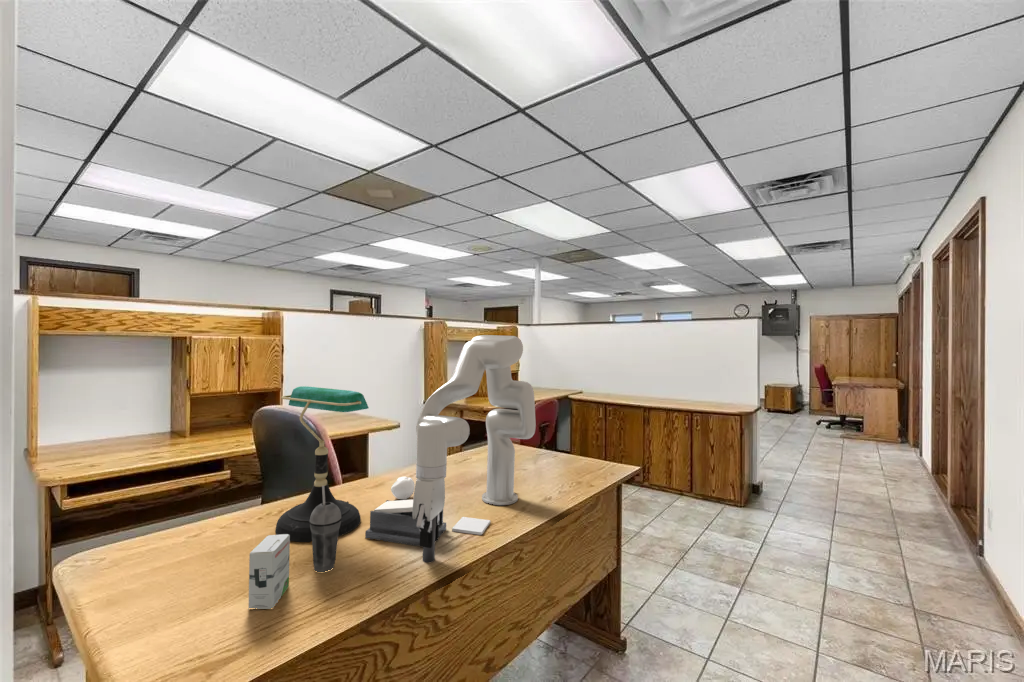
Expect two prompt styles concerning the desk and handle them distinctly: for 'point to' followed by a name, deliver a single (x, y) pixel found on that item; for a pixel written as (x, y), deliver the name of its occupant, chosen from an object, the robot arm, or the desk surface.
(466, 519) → the mat
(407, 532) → the tilting lid box
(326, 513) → the beverage cup
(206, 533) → the desk surface
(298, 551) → the desk surface
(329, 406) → the banker's lamp
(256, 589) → the ink box
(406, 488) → the white lumpy ball
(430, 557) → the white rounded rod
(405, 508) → the tilting box lid
